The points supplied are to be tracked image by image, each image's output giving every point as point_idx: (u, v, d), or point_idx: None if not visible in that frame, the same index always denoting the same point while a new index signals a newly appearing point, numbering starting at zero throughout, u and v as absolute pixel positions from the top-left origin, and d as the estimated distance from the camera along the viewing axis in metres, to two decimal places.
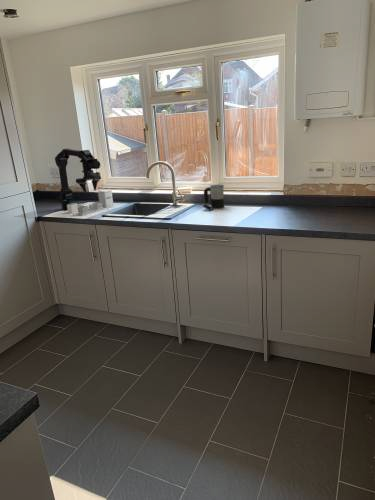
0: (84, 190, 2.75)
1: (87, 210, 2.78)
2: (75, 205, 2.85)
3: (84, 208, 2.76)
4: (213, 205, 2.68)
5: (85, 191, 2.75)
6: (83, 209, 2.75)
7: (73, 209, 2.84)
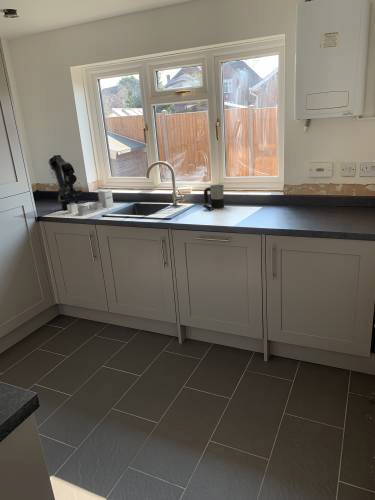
0: (66, 201, 2.88)
1: (87, 210, 2.78)
2: (75, 205, 2.85)
3: (84, 208, 2.76)
4: (213, 205, 2.67)
5: (66, 202, 2.87)
6: (83, 209, 2.75)
7: (73, 209, 2.84)
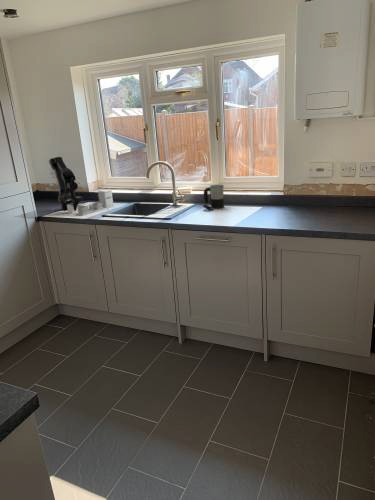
0: None
1: (87, 210, 2.78)
2: None
3: (84, 208, 2.76)
4: (213, 205, 2.67)
5: None
6: (83, 209, 2.75)
7: (73, 209, 2.84)
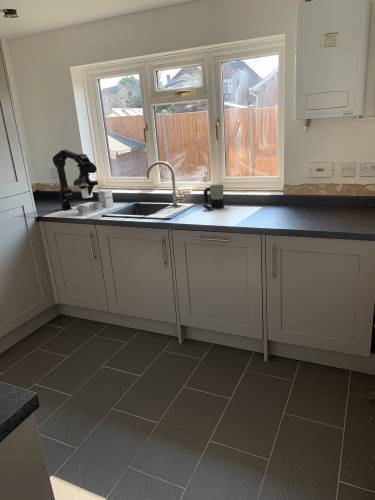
0: None
1: (87, 210, 2.78)
2: None
3: (84, 208, 2.76)
4: (213, 205, 2.67)
5: None
6: (83, 209, 2.75)
7: (87, 193, 2.78)
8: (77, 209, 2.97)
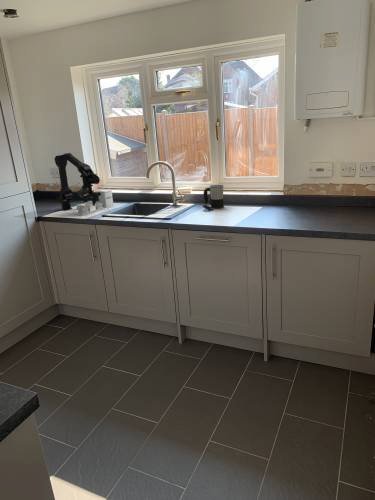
0: None
1: (87, 210, 2.78)
2: None
3: (84, 208, 2.76)
4: (213, 205, 2.67)
5: None
6: (83, 209, 2.75)
7: (91, 207, 2.81)
8: (77, 209, 2.97)
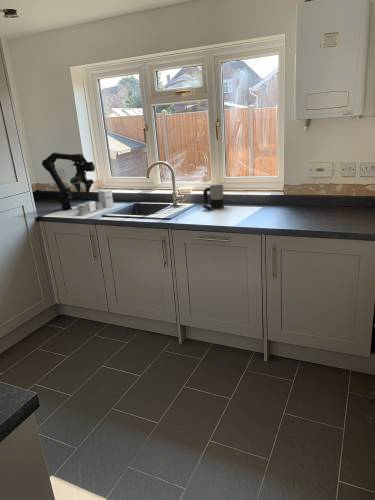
0: (78, 190, 2.95)
1: (87, 210, 2.78)
2: (93, 203, 2.82)
3: (84, 208, 2.76)
4: (213, 205, 2.67)
5: None
6: (83, 209, 2.75)
7: (91, 207, 2.81)
8: (77, 209, 2.97)
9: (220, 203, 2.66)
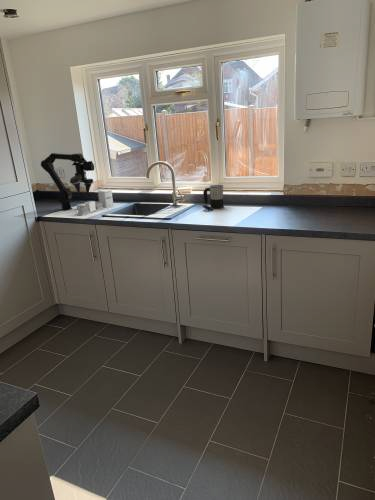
0: None
1: (87, 210, 2.78)
2: (93, 203, 2.82)
3: (84, 208, 2.76)
4: (213, 205, 2.67)
5: None
6: (83, 209, 2.75)
7: (91, 207, 2.81)
8: (77, 209, 2.97)
9: (220, 203, 2.66)
